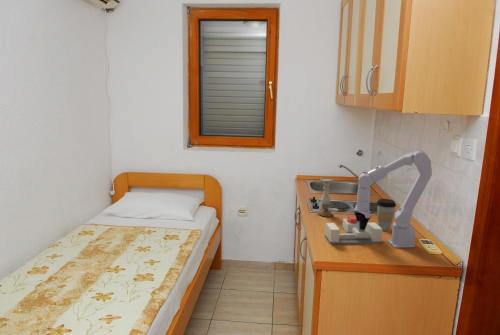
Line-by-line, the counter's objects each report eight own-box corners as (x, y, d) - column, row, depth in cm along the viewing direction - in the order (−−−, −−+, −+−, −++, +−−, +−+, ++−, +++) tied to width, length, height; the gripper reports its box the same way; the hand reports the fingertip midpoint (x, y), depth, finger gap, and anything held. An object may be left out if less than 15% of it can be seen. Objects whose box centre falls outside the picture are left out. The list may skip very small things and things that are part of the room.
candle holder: (335, 215, 222) (338, 180, 218) (322, 217, 218) (324, 181, 214) (327, 211, 230) (329, 177, 226) (314, 212, 226) (315, 178, 222)
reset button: (355, 222, 200) (356, 216, 199) (358, 225, 195) (359, 219, 195) (347, 222, 199) (347, 216, 199) (350, 225, 195) (350, 219, 194)
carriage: (363, 233, 190) (364, 219, 188) (369, 239, 183) (370, 224, 181) (351, 234, 189) (352, 219, 188) (356, 239, 182) (357, 224, 181)
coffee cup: (393, 227, 205) (395, 199, 202) (394, 233, 196) (397, 204, 193) (374, 225, 207) (376, 197, 204) (374, 231, 198) (376, 202, 195)
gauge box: (357, 228, 202) (358, 218, 201) (363, 233, 195) (363, 224, 194) (342, 228, 202) (343, 218, 201) (347, 233, 194) (348, 224, 193)
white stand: (373, 235, 192) (374, 222, 190) (381, 243, 182) (382, 229, 181) (324, 236, 190) (325, 222, 189) (330, 244, 180) (331, 230, 179)
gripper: (349, 195, 189) (348, 222, 192) (360, 204, 175) (358, 233, 178) (364, 195, 190) (362, 222, 193) (375, 204, 176) (373, 233, 178)
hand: (361, 227), depth 185 cm, fingers closed on carriage, 3 cm apart
